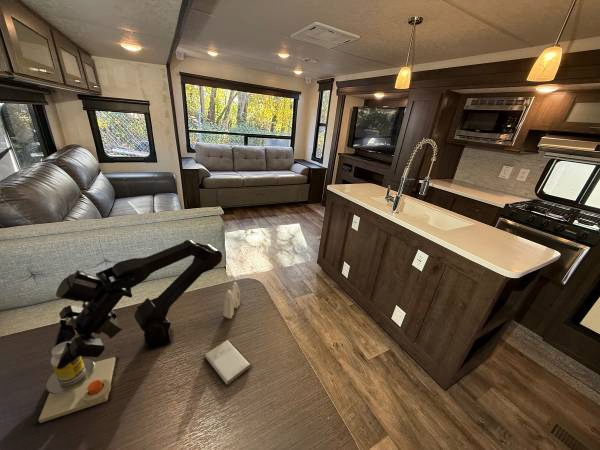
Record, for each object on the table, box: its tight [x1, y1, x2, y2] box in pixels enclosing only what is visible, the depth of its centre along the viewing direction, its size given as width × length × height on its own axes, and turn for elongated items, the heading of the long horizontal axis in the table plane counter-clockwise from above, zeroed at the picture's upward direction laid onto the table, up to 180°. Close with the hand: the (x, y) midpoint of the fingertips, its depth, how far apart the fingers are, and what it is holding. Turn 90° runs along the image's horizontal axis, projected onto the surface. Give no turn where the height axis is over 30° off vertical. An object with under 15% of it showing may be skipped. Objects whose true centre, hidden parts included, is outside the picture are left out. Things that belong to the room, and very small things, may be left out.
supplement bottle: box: [50, 341, 85, 383], centre depth 64 cm, size 5×5×10 cm
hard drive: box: [204, 339, 251, 386], centre depth 77 cm, size 2×8×12 cm
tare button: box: [87, 380, 103, 395], centre depth 63 cm, size 3×3×2 cm
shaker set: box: [222, 281, 241, 319], centre depth 95 cm, size 12×4×11 cm, turn 174°
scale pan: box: [46, 358, 95, 394], centre depth 66 cm, size 10×10×1 cm
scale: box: [38, 356, 116, 424], centre depth 66 cm, size 14×14×3 cm
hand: (57, 360), depth 62 cm, fingers open, 6 cm apart
